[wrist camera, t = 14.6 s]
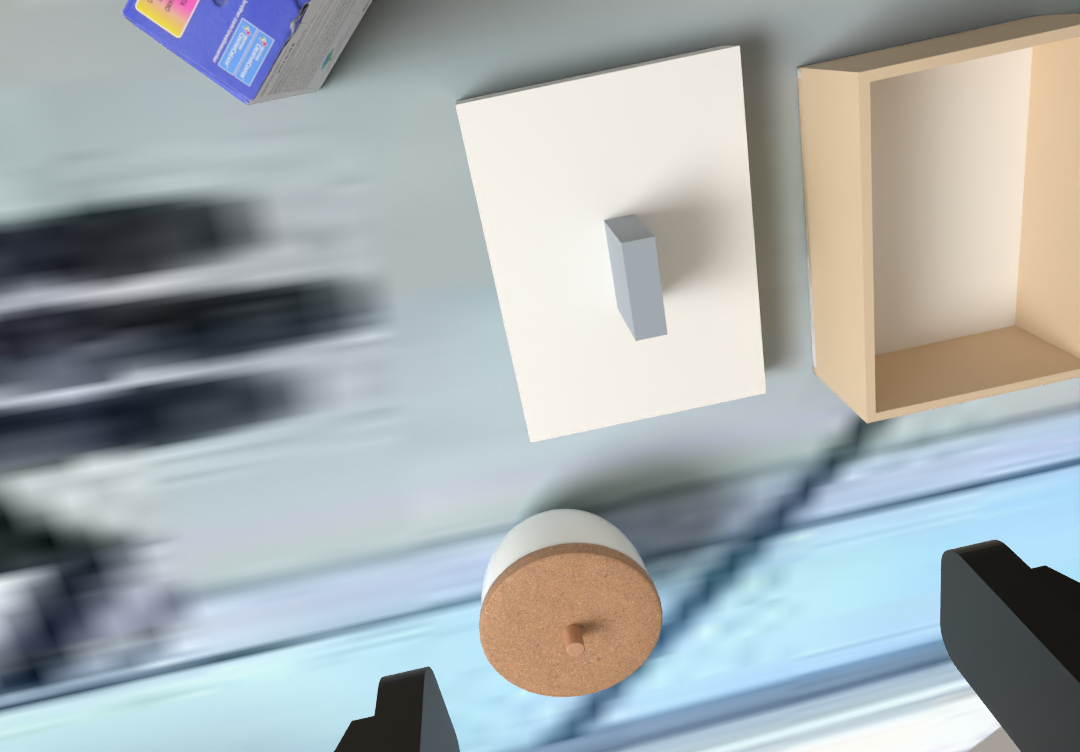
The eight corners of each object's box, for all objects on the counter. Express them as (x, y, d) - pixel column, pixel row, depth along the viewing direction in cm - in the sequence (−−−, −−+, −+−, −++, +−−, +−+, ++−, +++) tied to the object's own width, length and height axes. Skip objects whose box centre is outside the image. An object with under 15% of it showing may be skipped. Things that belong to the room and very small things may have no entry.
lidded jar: (521, 634, 54) (531, 745, 46) (449, 522, 50) (445, 621, 42) (660, 573, 53) (697, 675, 45) (598, 453, 49) (626, 541, 40)
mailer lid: (456, 101, 40) (453, 113, 33) (724, 45, 40) (777, 46, 33) (527, 423, 48) (537, 487, 41) (751, 376, 48) (799, 432, 41)
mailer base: (797, 67, 41) (858, 72, 34) (1037, 15, 41) (1143, 10, 34) (813, 372, 48) (866, 423, 42) (1017, 328, 48) (1101, 372, 42)
